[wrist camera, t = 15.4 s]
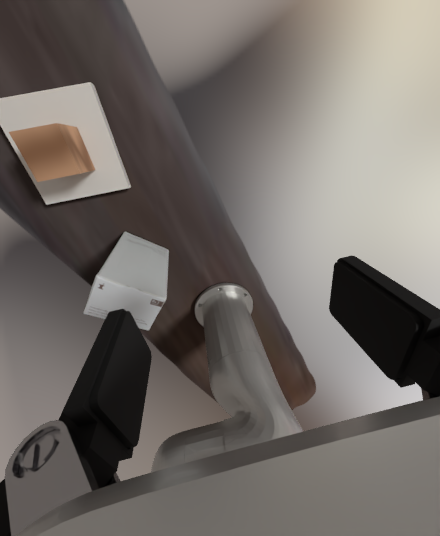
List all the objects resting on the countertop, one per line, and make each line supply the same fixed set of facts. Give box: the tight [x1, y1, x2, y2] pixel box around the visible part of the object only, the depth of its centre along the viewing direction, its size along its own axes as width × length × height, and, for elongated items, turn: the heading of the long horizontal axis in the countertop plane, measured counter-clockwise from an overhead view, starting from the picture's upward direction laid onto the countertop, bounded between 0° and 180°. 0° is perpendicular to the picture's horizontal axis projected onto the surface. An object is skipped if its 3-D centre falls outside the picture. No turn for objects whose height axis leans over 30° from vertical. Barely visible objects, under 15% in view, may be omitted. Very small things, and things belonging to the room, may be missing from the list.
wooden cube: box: [9, 123, 95, 182], centre depth 26 cm, size 5×5×5 cm
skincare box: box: [83, 232, 169, 330], centre depth 31 cm, size 8×6×15 cm
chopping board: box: [0, 82, 131, 205], centre depth 28 cm, size 12×12×1 cm
